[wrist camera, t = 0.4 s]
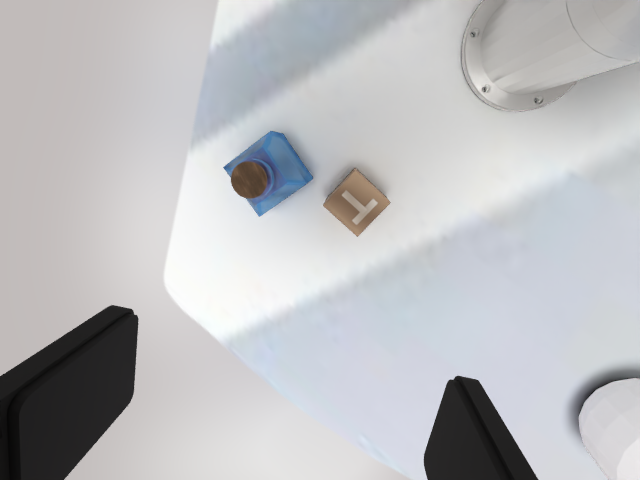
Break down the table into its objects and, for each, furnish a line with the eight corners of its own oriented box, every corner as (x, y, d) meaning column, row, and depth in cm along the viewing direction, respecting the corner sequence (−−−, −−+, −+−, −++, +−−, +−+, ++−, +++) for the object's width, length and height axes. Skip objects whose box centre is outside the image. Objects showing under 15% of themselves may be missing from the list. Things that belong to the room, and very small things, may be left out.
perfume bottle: (313, 178, 41) (298, 189, 30) (272, 207, 42) (242, 229, 31) (282, 133, 40) (255, 127, 29) (241, 164, 41) (199, 170, 30)
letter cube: (354, 167, 41) (355, 169, 36) (385, 196, 41) (390, 202, 36) (326, 199, 42) (322, 205, 37) (356, 226, 42) (357, 236, 37)
